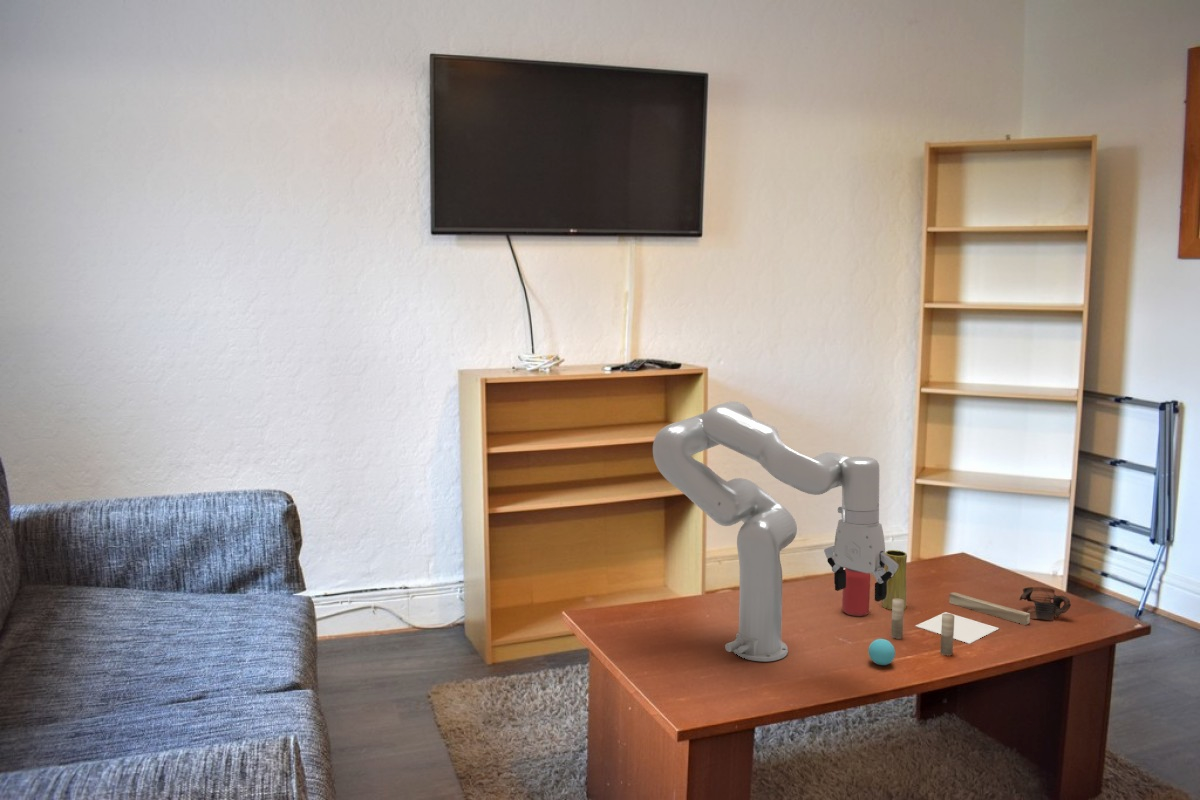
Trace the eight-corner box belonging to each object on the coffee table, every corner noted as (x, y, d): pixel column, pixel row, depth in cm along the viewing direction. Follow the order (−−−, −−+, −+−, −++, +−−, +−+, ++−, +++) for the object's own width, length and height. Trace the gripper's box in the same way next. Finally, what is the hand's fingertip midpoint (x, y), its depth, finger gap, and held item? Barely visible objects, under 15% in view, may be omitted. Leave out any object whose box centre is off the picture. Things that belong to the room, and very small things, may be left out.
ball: (885, 671, 199) (886, 647, 198) (862, 663, 203) (863, 639, 202) (899, 664, 202) (900, 640, 202) (877, 656, 207) (878, 632, 206)
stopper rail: (1025, 625, 224) (1025, 615, 224) (949, 603, 239) (949, 593, 239) (1029, 623, 225) (1029, 613, 225) (953, 601, 241) (953, 592, 240)
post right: (948, 657, 206) (950, 618, 205) (938, 653, 208) (939, 615, 207) (954, 653, 208) (956, 615, 207) (944, 650, 210) (946, 612, 209)
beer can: (872, 617, 230) (873, 571, 228) (845, 617, 230) (847, 570, 228) (865, 607, 237) (866, 562, 235) (839, 607, 237) (840, 562, 235)
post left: (898, 639, 216) (900, 603, 215) (888, 636, 218) (890, 600, 217) (904, 637, 217) (906, 600, 216) (894, 633, 219) (896, 597, 218)
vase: (890, 611, 234) (892, 557, 232) (876, 603, 239) (878, 550, 237) (911, 609, 235) (913, 555, 233) (897, 601, 241) (899, 548, 239)
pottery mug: (1015, 618, 230) (1013, 586, 233) (1029, 625, 236) (1027, 593, 239) (1066, 618, 222) (1064, 584, 225) (1079, 625, 228) (1076, 592, 231)
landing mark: (969, 644, 213) (969, 643, 213) (915, 626, 224) (915, 625, 224) (999, 629, 222) (999, 628, 222) (945, 612, 233) (945, 611, 233)
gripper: (815, 512, 197) (815, 589, 199) (887, 526, 184) (886, 608, 187) (835, 506, 202) (835, 581, 204) (907, 519, 189) (906, 599, 192)
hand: (859, 594), depth 196 cm, fingers open, 9 cm apart
